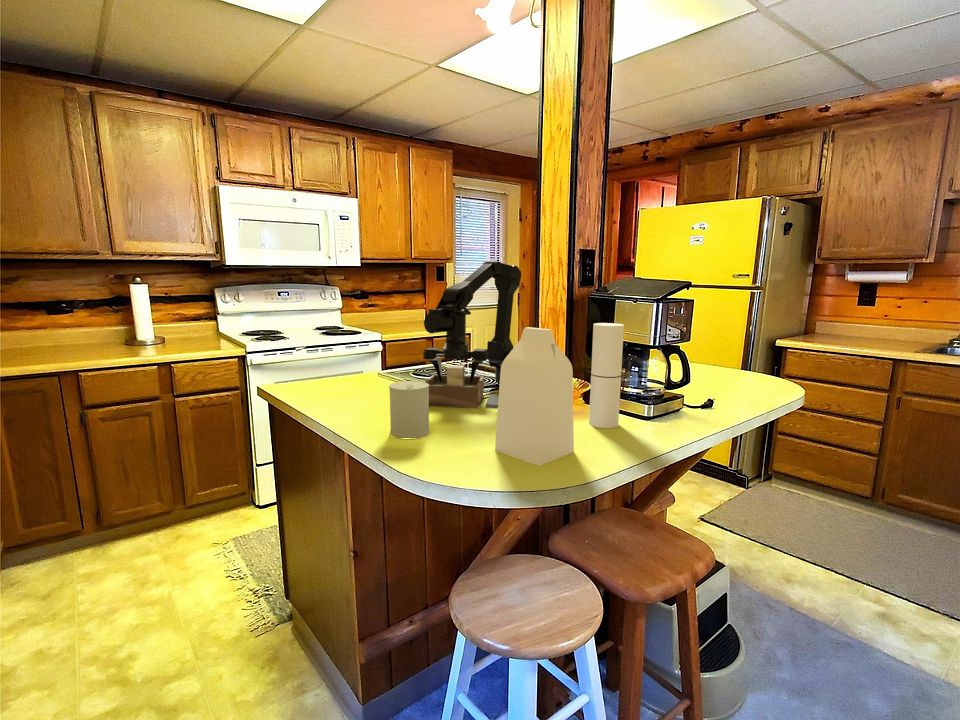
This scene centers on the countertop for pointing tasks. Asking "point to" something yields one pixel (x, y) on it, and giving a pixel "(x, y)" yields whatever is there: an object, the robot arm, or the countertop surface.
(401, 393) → the can
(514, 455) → the milk
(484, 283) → the robot arm
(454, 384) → the block
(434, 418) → the countertop surface
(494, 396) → the pad
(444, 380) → the crate
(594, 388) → the cylindrical container
